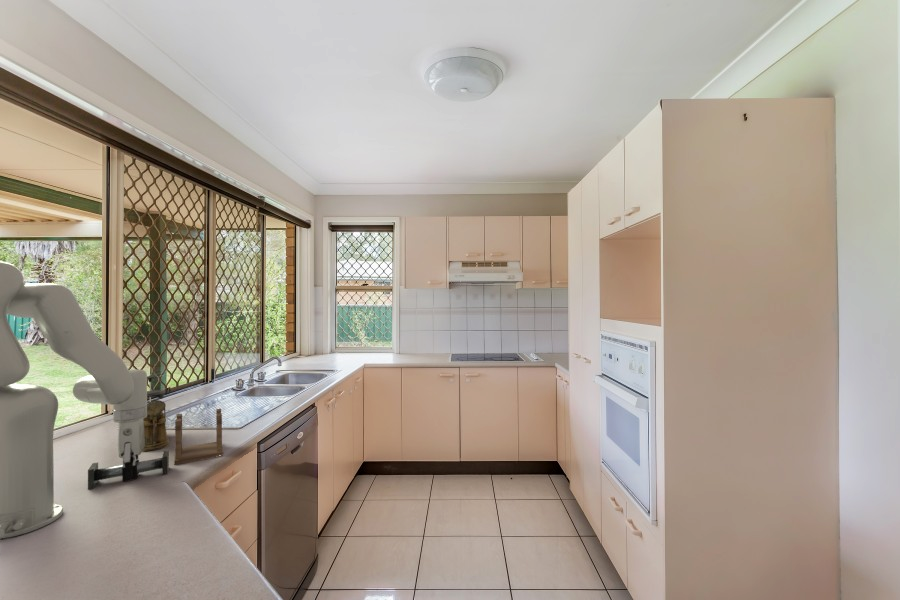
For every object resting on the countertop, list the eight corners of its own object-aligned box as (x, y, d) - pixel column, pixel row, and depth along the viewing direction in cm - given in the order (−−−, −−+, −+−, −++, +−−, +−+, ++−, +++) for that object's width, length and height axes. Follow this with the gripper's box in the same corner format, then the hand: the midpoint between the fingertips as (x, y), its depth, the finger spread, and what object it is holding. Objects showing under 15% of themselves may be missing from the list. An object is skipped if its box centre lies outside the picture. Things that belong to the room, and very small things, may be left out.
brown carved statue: (137, 458, 126) (137, 402, 126) (135, 445, 136) (135, 394, 136) (171, 451, 132) (171, 397, 132) (167, 439, 142) (167, 390, 142)
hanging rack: (222, 455, 128) (222, 416, 128) (174, 464, 121) (174, 422, 121) (221, 444, 138) (221, 407, 138) (176, 451, 131) (176, 413, 131)
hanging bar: (167, 474, 114) (167, 456, 114) (87, 489, 105) (87, 470, 105) (168, 467, 119) (168, 450, 119) (92, 481, 110) (92, 463, 110)
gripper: (143, 418, 107) (143, 485, 107) (150, 405, 121) (150, 464, 121) (107, 423, 103) (107, 493, 103) (118, 408, 117) (119, 469, 117)
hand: (130, 476), depth 112 cm, fingers closed on hanging bar, 3 cm apart
